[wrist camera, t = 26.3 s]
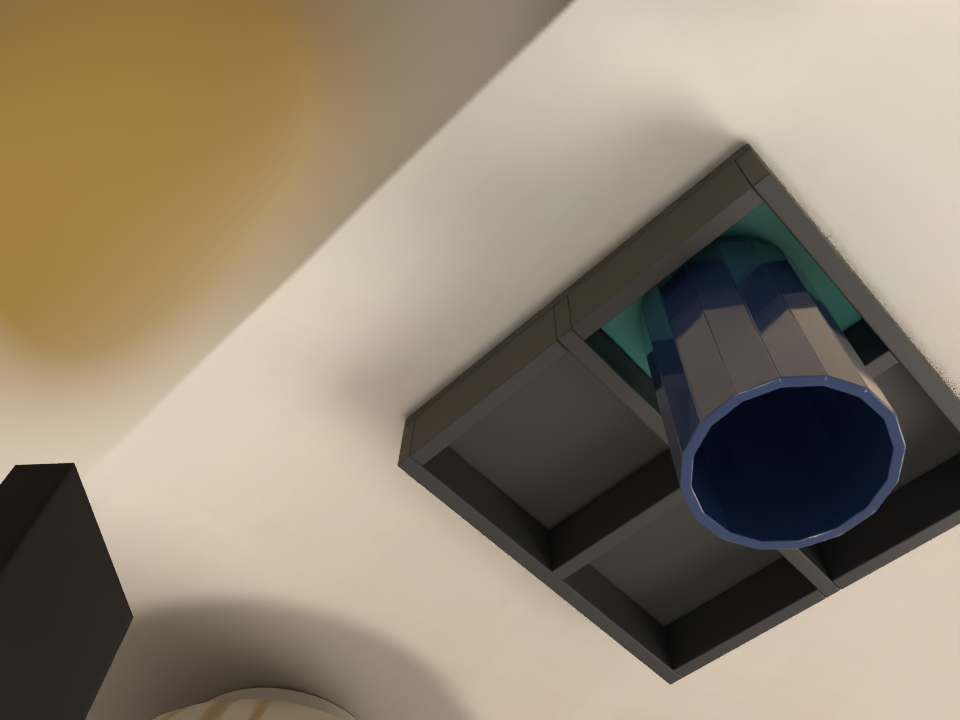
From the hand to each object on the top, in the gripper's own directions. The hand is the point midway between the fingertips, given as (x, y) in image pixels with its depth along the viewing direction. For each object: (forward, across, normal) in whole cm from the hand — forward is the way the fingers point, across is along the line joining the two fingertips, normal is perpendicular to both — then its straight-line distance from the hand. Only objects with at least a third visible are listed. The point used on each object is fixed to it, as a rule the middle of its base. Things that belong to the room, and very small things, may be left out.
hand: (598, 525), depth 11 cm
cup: (+26, +8, -11) cm, 29 cm away
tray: (+27, +7, -18) cm, 33 cm away
